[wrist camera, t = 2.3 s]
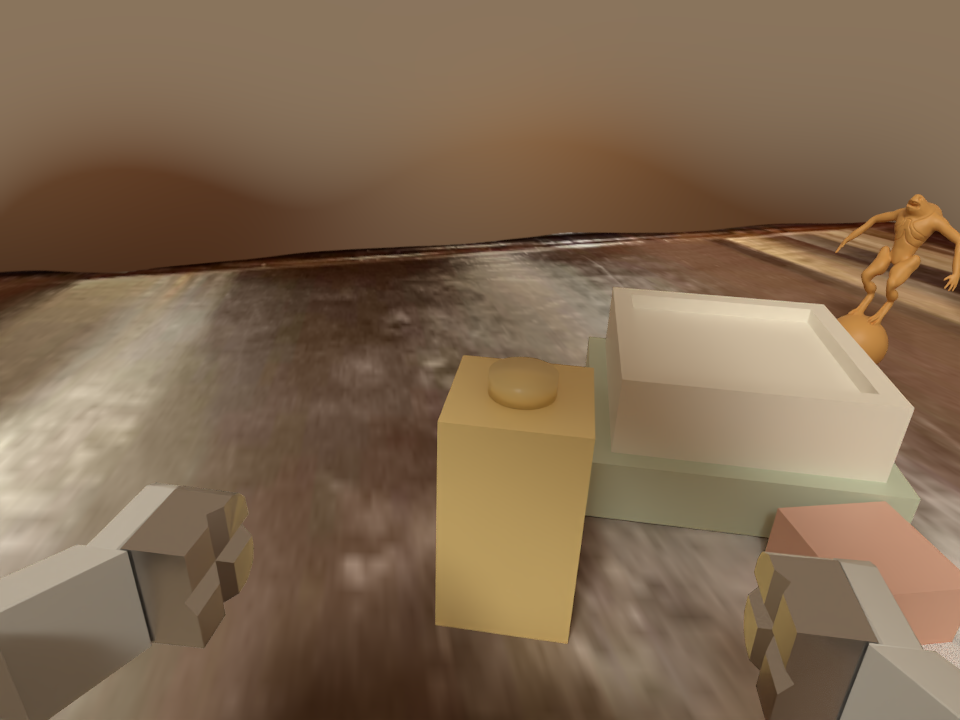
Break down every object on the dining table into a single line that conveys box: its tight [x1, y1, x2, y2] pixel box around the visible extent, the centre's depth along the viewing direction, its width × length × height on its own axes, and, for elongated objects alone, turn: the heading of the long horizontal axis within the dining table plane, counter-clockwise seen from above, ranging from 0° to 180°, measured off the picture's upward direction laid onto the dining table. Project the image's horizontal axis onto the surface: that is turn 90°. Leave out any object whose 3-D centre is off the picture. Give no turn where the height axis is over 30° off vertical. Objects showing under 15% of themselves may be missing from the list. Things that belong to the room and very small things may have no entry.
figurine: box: [835, 194, 960, 365], centre depth 44 cm, size 8×6×12 cm
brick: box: [765, 501, 960, 645], centre depth 27 cm, size 5×5×3 cm
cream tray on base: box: [585, 287, 921, 538], centre depth 35 cm, size 14×14×7 cm
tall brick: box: [435, 355, 595, 644], centre depth 25 cm, size 5×5×10 cm
